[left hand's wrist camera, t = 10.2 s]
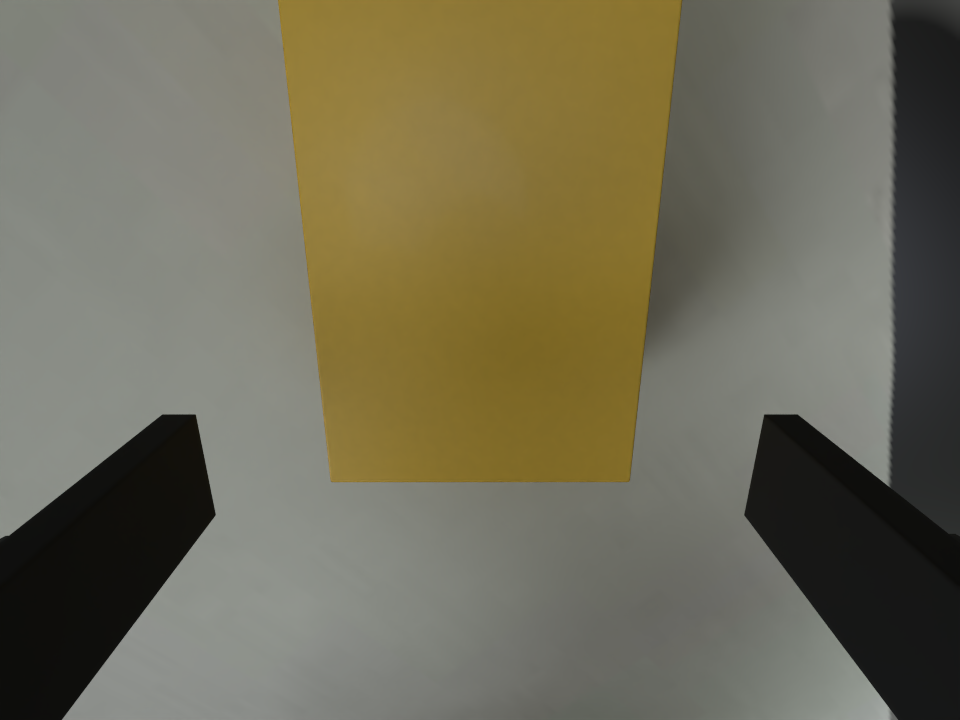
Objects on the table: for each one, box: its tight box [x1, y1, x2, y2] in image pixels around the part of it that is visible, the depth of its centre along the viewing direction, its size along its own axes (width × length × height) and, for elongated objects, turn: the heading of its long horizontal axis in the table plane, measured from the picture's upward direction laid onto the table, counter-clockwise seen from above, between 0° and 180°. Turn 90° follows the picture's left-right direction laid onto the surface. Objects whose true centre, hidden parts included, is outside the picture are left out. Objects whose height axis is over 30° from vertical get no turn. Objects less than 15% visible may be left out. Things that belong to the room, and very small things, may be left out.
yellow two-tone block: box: [278, 0, 682, 482], centre depth 21 cm, size 19×11×8 cm, turn 0°
